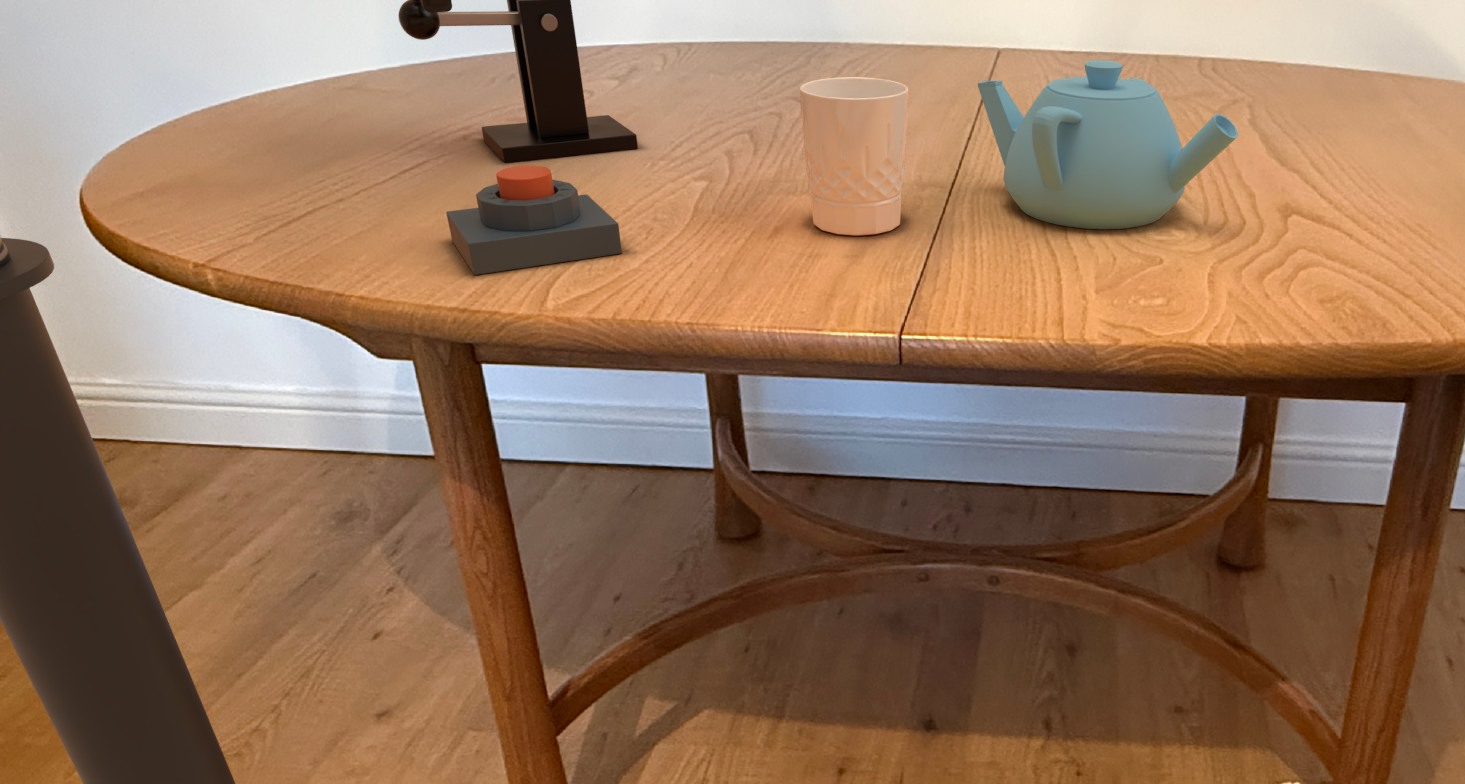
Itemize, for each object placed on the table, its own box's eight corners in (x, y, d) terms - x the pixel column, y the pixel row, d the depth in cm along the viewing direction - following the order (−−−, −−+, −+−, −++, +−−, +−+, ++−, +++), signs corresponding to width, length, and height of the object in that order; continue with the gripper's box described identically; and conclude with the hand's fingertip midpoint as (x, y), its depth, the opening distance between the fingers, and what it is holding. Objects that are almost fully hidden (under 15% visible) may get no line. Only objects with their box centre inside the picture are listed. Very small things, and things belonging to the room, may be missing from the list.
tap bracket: (504, 163, 101) (476, 5, 94) (483, 140, 107) (455, -8, 101) (638, 148, 106) (620, -1, 99) (610, 128, 113) (592, -14, 106)
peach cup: (835, 203, 92) (831, 73, 87) (924, 216, 90) (925, 83, 85) (786, 229, 86) (779, 91, 81) (881, 244, 84) (879, 102, 78)
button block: (474, 275, 76) (462, 216, 74) (452, 241, 82) (440, 185, 80) (622, 253, 81) (615, 197, 79) (591, 222, 86) (583, 169, 84)
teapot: (1042, 248, 84) (1053, 88, 78) (971, 186, 98) (975, 46, 92) (1229, 234, 88) (1253, 81, 82) (1135, 176, 102) (1149, 42, 96)
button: (507, 207, 77) (502, 181, 76) (495, 193, 80) (491, 168, 79) (560, 200, 79) (556, 175, 78) (547, 187, 82) (543, 162, 81)
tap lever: (405, 42, 95) (398, 1, 94) (399, 37, 97) (392, -4, 96) (563, 39, 101) (559, 0, 100) (554, 34, 103) (550, -5, 102)
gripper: (321, -225, 91) (369, -4, 100) (342, -228, 81) (394, 18, 89) (421, -221, 95) (459, -8, 103) (454, -223, 84) (493, 14, 93)
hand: (429, 4), depth 96 cm, fingers open, 8 cm apart
